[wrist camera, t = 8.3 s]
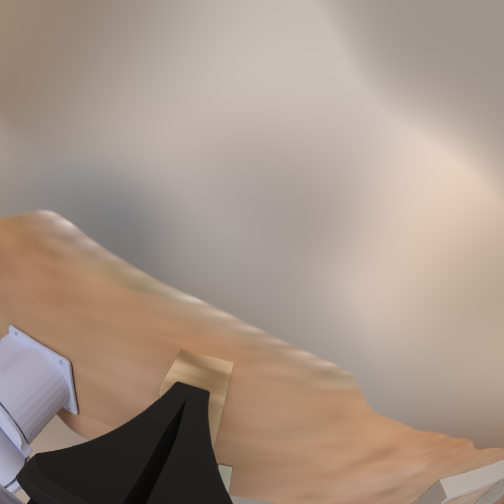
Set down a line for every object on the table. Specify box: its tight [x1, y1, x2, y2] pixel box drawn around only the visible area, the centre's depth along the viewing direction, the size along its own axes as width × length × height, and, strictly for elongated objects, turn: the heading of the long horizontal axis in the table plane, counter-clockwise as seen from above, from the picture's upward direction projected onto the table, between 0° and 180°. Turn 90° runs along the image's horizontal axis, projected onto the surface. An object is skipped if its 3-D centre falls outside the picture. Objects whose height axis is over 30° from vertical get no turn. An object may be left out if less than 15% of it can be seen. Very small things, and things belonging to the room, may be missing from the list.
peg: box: [159, 349, 234, 451], centre depth 19 cm, size 4×10×5 cm, turn 168°
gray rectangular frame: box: [412, 460, 504, 504], centre depth 23 cm, size 32×21×4 cm, turn 75°
